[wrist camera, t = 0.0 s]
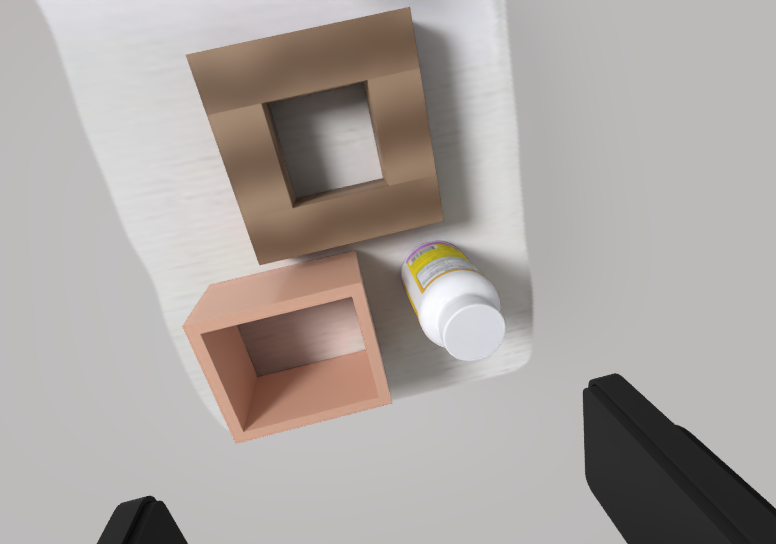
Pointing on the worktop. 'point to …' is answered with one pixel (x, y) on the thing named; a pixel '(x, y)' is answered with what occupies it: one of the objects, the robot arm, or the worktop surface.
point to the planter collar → (293, 386)
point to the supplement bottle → (453, 301)
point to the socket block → (309, 76)
